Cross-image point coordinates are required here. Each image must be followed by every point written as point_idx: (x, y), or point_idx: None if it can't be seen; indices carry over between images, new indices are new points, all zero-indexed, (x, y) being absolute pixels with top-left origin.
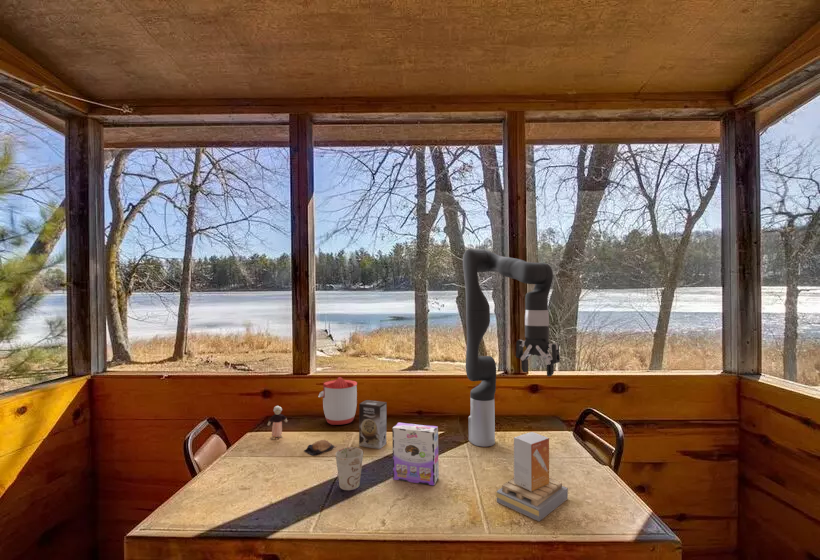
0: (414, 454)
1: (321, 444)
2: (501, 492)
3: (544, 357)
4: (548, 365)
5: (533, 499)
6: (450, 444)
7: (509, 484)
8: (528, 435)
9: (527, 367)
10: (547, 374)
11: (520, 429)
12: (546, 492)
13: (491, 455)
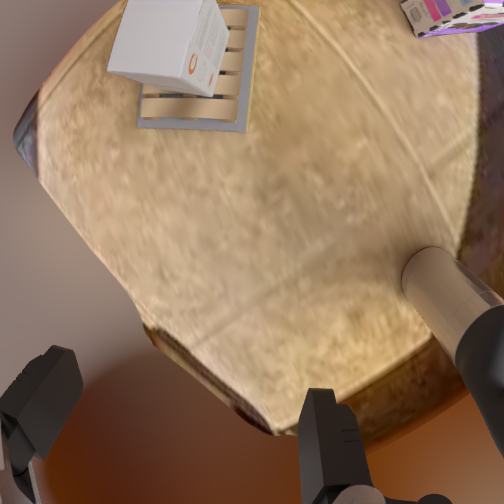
0: None
1: None
2: (246, 7)
3: None
4: (3, 406)
5: None
6: (480, 216)
7: (235, 22)
8: (171, 32)
9: (301, 448)
10: (58, 353)
11: (371, 387)
12: None
13: (384, 218)
